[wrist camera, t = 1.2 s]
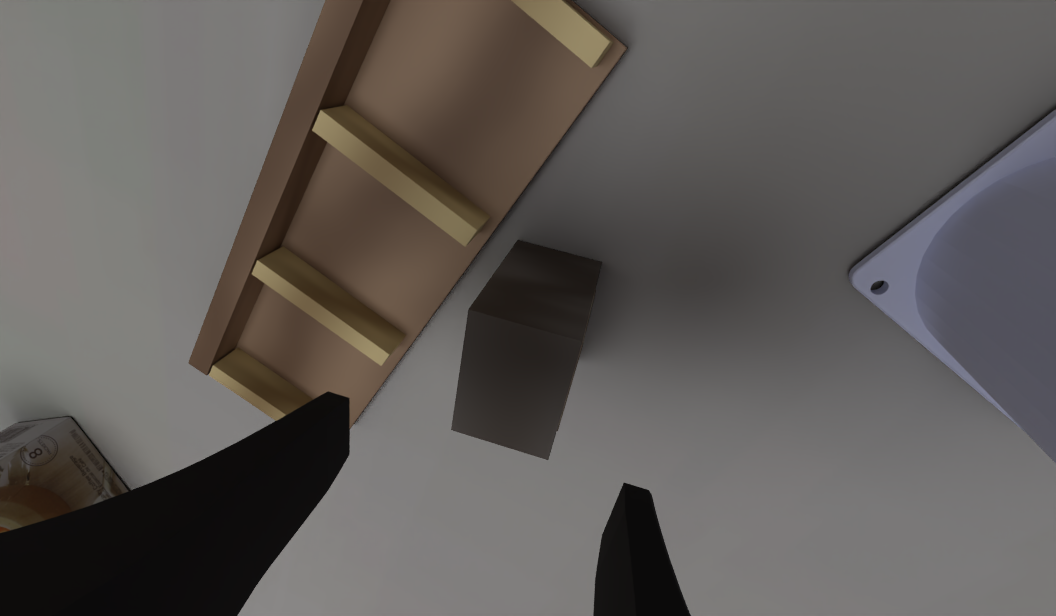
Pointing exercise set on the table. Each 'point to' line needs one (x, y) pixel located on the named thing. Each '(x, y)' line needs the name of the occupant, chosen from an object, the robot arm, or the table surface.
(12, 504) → the coffee box
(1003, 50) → the table surface
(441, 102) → the rack
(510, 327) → the black box
